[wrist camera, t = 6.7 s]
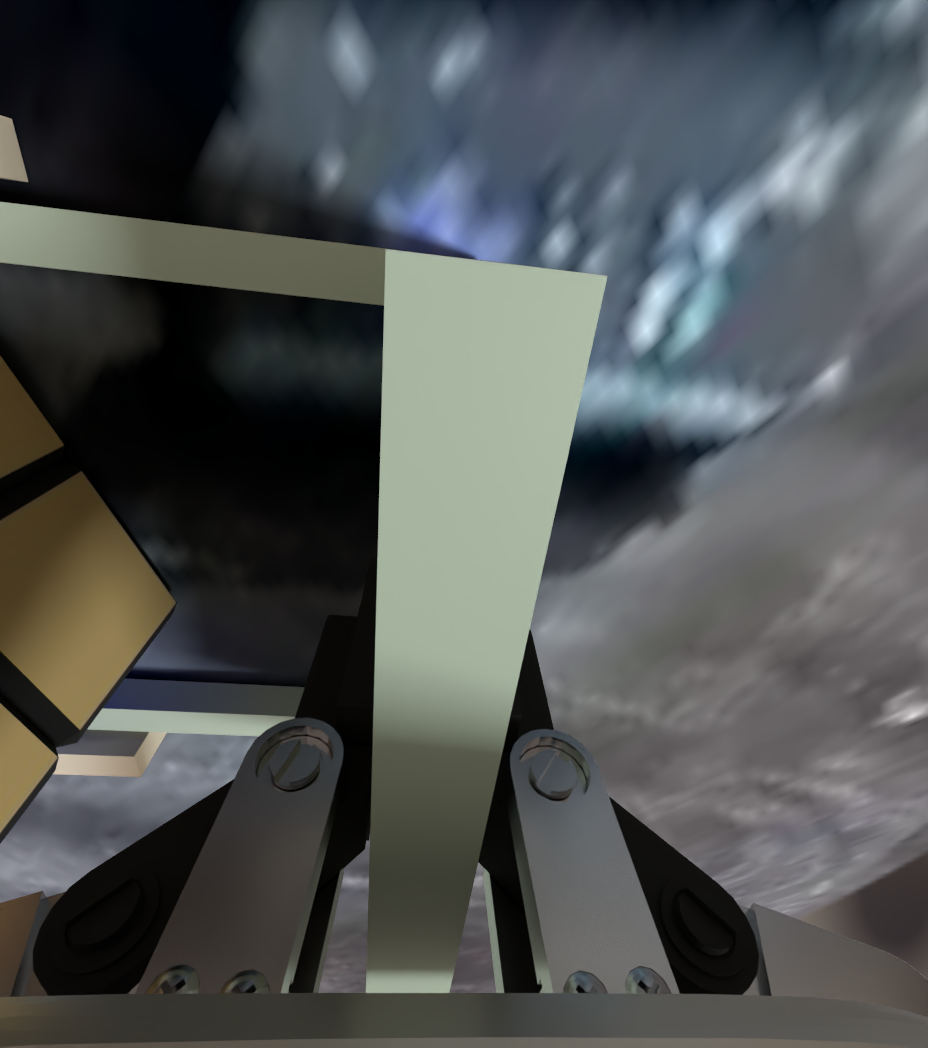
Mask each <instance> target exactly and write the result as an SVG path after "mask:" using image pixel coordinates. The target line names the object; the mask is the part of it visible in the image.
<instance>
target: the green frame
mask: <svg viewBox="0 0 928 1048" xmlns="http://www.w3.org/2000/svg"><path fill="white" fill-rule="evenodd" d="M0 262H1V263H10V264H19V265H28V266H37V267H45V268H54V269H63V270H72V271H81V272H90V273H99V274H108V275H117V276H126V277H134V278H143V279H152V280H161V281H170V282H179V283H188V284H197V285H206V286H215V287H223V288H232V289H241V290H250V291H259V292H268V293H277V294H286V295H295V296H304V297H312V298H321V299H330V300H339V301H348V302H357V303H366V304H375V305H384V332H383V370H382V408H381V446H380V483H379V521H378V559H377V597H376V635H375V673H374V711H373V749H372V787H371V825H370V863H369V901H368V938H367V976H366V993H449V991H450V987H451V982H452V978H453V973H454V969H455V964H456V960H457V955H458V951H459V946H460V942H461V937H462V933H463V928H464V923H465V919H466V914H467V910H468V905H469V901H470V896H471V892H472V887H473V883H474V878H475V874H476V869H477V865H478V860H479V856H480V851H481V846H482V842H483V837H484V833H485V828H486V824H487V819H488V815H489V810H490V806H491V801H492V797H493V792H494V788H495V783H496V779H497V774H498V769H499V765H500V760H501V756H502V751H503V747H504V742H505V738H506V733H507V729H508V724H509V720H510V715H511V711H512V706H513V702H514V697H515V692H516V688H517V683H518V679H519V674H520V670H521V665H522V661H523V656H524V652H525V647H526V643H527V638H528V634H529V629H530V625H531V620H532V616H533V611H534V606H535V602H536V597H537V593H538V588H539V584H540V579H541V575H542V570H543V566H544V561H545V557H546V552H547V548H548V543H549V539H550V534H551V529H552V525H553V520H554V516H555V511H556V507H557V502H558V498H559V493H560V489H561V484H562V480H563V475H564V471H565V466H566V462H567V457H568V452H569V448H570V443H571V439H572V434H573V430H574V425H575V421H576V416H577V412H578V407H579V403H580V398H581V394H582V389H583V385H584V380H585V376H586V371H587V366H588V362H589V357H590V353H591V348H592V344H593V339H594V335H595V330H596V326H597V321H598V317H599V312H600V308H601V303H602V299H603V294H604V289H605V285H606V280H607V276H603V275H595V274H587V273H579V272H571V271H563V270H555V269H547V268H539V267H531V266H523V265H515V264H507V263H499V262H491V261H483V260H474V259H466V258H458V257H450V256H442V255H433V254H425V253H417V252H409V251H401V250H392V249H384V248H376V247H368V246H360V245H351V244H343V243H335V242H327V241H318V240H310V239H302V238H294V237H286V236H277V235H269V234H261V233H253V232H245V231H236V230H228V229H220V228H212V227H204V226H195V225H187V224H179V223H171V222H163V221H154V220H146V219H138V218H130V217H121V216H113V215H105V214H97V213H89V212H80V211H72V210H64V209H56V208H48V207H39V206H31V205H23V204H15V203H7V202H0ZM304 688H305V687H289V686H268V685H248V684H227V683H206V682H185V681H164V680H144V679H124V680H123V681H122V683H121V684H120V686H119V687H118V688H117V690H116V691H115V692H114V694H113V695H112V696H111V698H110V699H109V700H108V702H107V703H106V704H105V706H104V707H103V708H102V710H101V711H100V712H99V714H98V715H97V716H96V718H95V719H94V721H93V722H92V723H91V725H90V726H89V727H88V729H89V730H114V731H139V732H164V733H190V734H215V735H240V736H260V735H261V734H262V733H264V732H265V731H266V730H267V729H269V728H271V727H273V726H274V725H276V724H278V723H280V722H283V721H287V720H290V719H294V718H295V716H296V713H297V710H298V706H299V703H300V700H301V697H302V694H303V691H304Z"/></svg>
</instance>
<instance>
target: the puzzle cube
mask: <svg viewBox="0 0 928 1048" xmlns="http://www.w3.org/2000/svg"><path fill="white" fill-rule="evenodd" d="M64 447H65V445H64V444H63V442H62V441H61V439H60V438H59V437H58V435H57V434H56V432H55V431H54V430H53V428H52V427H51V425H50V424H49V423H48V421H47V420H46V419H45V417H44V416H43V414H42V413H41V412H40V410H39V409H38V407H37V406H36V405H35V403H34V402H33V400H32V399H31V398H30V396H29V395H28V393H27V392H26V391H25V389H24V388H23V386H22V385H21V384H20V382H19V381H18V379H17V378H16V377H15V375H14V374H13V373H12V371H11V370H10V368H9V367H8V366H7V364H6V363H5V361H4V360H3V359H2V357H1V356H0V843H1V842H2V841H3V839H4V838H5V837H6V835H7V834H8V833H9V831H10V830H11V829H12V827H13V826H14V825H15V823H16V822H17V821H18V820H19V818H20V817H21V816H22V814H23V813H24V812H25V810H26V809H27V808H28V806H29V805H30V804H31V802H32V801H33V800H34V798H35V797H36V796H37V794H38V793H39V792H40V790H41V789H42V788H43V786H44V785H45V784H46V782H47V781H48V780H49V778H50V777H51V776H52V774H53V773H54V772H55V770H56V766H57V763H58V759H59V757H58V753H57V750H56V748H57V747H61V746H65V745H70V744H74V743H77V742H78V741H79V739H80V738H81V737H82V735H83V734H84V733H85V731H86V730H87V729H88V727H89V726H90V725H91V723H92V722H93V721H94V719H95V718H96V716H97V715H98V714H99V712H100V711H101V710H102V708H103V707H104V706H105V704H106V703H107V702H108V700H109V699H110V698H111V696H112V695H113V694H114V692H115V691H116V690H117V688H118V687H119V686H120V684H121V683H122V681H123V680H124V679H125V677H126V676H127V675H128V673H129V672H130V671H131V669H132V668H133V667H134V665H135V664H136V663H137V661H138V660H139V659H140V657H141V656H142V655H143V653H144V652H145V651H146V649H147V648H148V646H149V645H150V644H151V642H152V641H153V640H154V638H155V637H156V636H157V634H158V633H159V632H160V630H161V629H162V628H163V626H164V625H165V624H166V622H167V621H168V620H169V618H170V617H171V615H172V614H173V612H174V609H175V607H176V604H177V602H176V601H175V599H174V598H173V597H172V595H171V594H170V593H169V591H168V590H167V588H166V587H165V586H164V584H163V583H162V581H161V580H160V579H159V577H158V576H157V574H156V573H155V572H154V570H153V569H152V567H151V566H150V565H149V563H148V562H147V561H146V559H145V558H144V556H143V555H142V554H141V552H140V551H139V549H138V548H137V547H136V545H135V544H134V542H133V541H132V540H131V538H130V537H129V535H128V534H127V533H126V531H125V530H124V528H123V527H122V526H121V524H120V523H119V522H118V520H117V519H116V517H115V516H114V515H113V513H112V512H111V510H110V509H109V508H108V506H107V505H106V503H105V502H104V501H103V499H102V498H101V496H100V495H99V494H98V492H97V491H96V490H95V488H94V487H93V485H92V484H91V483H90V481H89V480H88V478H87V477H86V476H85V474H84V473H83V471H82V470H80V469H78V468H76V467H73V466H71V465H68V464H66V463H63V462H60V461H62V457H63V452H64ZM58 462H60V463H58ZM56 463H57V464H56Z"/></svg>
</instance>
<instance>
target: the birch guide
mask: <svg viewBox="0 0 928 1048" xmlns="http://www.w3.org/2000/svg"><path fill="white" fill-rule="evenodd" d="M0 179H6V180H14V181H22V182H28V178H27V175H26V171H25V167H24V163H23V159H22V156H21V152H20V148H19V144H18V140H17V137H16V133H15V129H14V125H13V121H12V119H11V118H7V117H4V116H1V115H0ZM165 735H166V733H164V732H139V731H114V730H89V729H87V730H86V731H85V733H84V734H83V735H82V737H81V738H80V739H79V741H78V742H77V743H74V744H70V745H65V746H61V747H57V748H56V750H57V753H58V757H59V759H58V763H57V766H56V770H55V772H54V773H53V774H65V775H96V776H127V777H141V776H142V774H143V772H144V771H145V769H146V767H147V765H148V764H149V762H150V760H151V759H152V757H153V755H154V753H155V752H156V750H157V748H158V747H159V745H160V743H161V741H162V740H163V738H164V736H165Z"/></svg>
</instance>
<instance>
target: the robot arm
mask: <svg viewBox="0 0 928 1048" xmlns="http://www.w3.org/2000/svg"><path fill="white" fill-rule="evenodd" d="M377 559H378V558H375V557H372V559H371V563H370V567H369V571H368V575H367V580H366V584H365V588H364V592H363V596H362V600H361V605H360V609H359V613H358V617H353V616H338V615H329V616H328V618H327V620H326V623H325V626H324V629H323V632H322V635H321V638H320V641H319V645H318V648H317V651H316V654H315V657H314V660H313V663H312V666H311V669H310V672H309V676H308V679H307V682H306V685H305V688H304V691H303V694H302V697H301V700H300V703H299V706H298V710H297V713H296V716H295V718H294V719H290V720H287V721H283V722H280V723H278V724H276V725H274V726H273V727H271V728H269V729H267V730H266V731H265V732H264V733H262V734H261V735H260V736H259V737H258V738H257V739H256V740H255V741H254V743H253V744H252V746H251V747H250V749H249V750H248V752H247V754H246V756H245V758H244V760H243V762H242V764H241V766H240V769H239V771H238V773H237V775H236V777H235V779H234V780H232V781H231V782H229V783H227V784H226V785H224V786H223V787H221V788H220V789H218V790H216V791H215V792H213V793H212V794H210V795H209V796H207V797H206V798H204V799H202V800H201V801H199V802H198V803H196V804H195V805H193V806H191V807H190V808H188V809H187V810H185V811H184V812H182V813H181V814H179V815H177V816H176V817H174V818H173V819H171V820H170V821H168V822H166V823H165V824H163V825H162V826H160V827H159V828H157V829H156V830H154V831H152V832H151V833H149V834H148V835H146V836H145V837H143V838H141V839H140V840H138V841H137V842H135V843H134V844H132V845H131V846H129V847H127V848H126V849H124V850H123V851H121V852H120V853H118V854H116V855H115V856H113V857H112V858H110V859H109V860H107V861H106V862H104V863H102V864H101V865H99V866H98V867H96V868H95V869H93V870H91V871H90V872H89V873H87V874H86V875H85V876H84V877H82V878H81V879H80V880H78V881H77V882H76V883H75V884H73V885H72V886H71V887H70V888H69V889H68V890H67V891H66V892H64V893H60V894H57V895H53V896H50V897H47V898H46V896H45V894H44V893H43V891H41V892H37V893H34V894H30V895H27V896H23V897H20V898H16V899H13V900H9V901H6V902H2V903H0V1048H928V980H927V979H926V978H925V977H924V976H922V975H921V974H920V973H919V972H918V971H916V970H915V969H914V968H913V967H911V966H910V965H909V964H908V963H906V962H904V961H902V960H901V959H899V958H897V957H895V956H893V955H891V954H889V953H887V952H885V951H882V950H879V949H876V948H874V947H871V946H868V945H866V944H863V943H860V942H858V941H855V940H852V939H849V938H847V937H844V936H841V935H839V934H836V933H833V932H830V931H828V930H825V929H822V928H819V927H817V926H814V925H811V924H809V923H806V922H804V921H801V920H798V919H796V918H793V917H790V916H787V915H785V914H782V913H779V912H777V911H774V910H771V909H768V908H766V907H763V906H760V905H758V904H755V903H753V904H752V906H751V907H750V908H746V907H743V906H741V905H738V904H737V903H736V901H735V900H734V898H733V897H732V896H730V895H729V894H728V893H727V892H726V891H725V890H724V889H723V888H722V887H721V886H720V885H719V884H718V883H717V882H716V881H714V880H713V879H712V878H711V877H709V876H708V875H707V874H705V873H704V872H703V871H702V870H700V869H699V868H698V867H697V866H695V865H694V864H693V863H692V862H690V861H689V860H688V859H687V858H685V857H684V856H683V855H682V854H680V853H679V852H678V851H677V850H675V849H674V848H673V847H672V846H670V845H669V844H668V843H667V842H665V841H664V840H663V839H662V838H660V837H659V836H658V835H657V834H655V833H654V832H653V831H652V830H650V829H649V828H648V827H647V826H645V825H644V824H643V823H642V822H640V821H639V820H638V819H637V818H635V817H634V816H633V815H632V814H630V813H629V812H628V811H626V810H625V809H624V808H623V807H621V806H620V805H619V804H618V803H616V802H615V801H614V800H613V799H611V798H610V797H609V796H608V793H607V790H606V787H605V785H604V782H603V779H602V776H601V774H600V771H599V768H598V766H597V764H596V762H595V760H594V758H593V756H592V754H591V753H590V752H589V751H588V750H587V749H586V748H585V747H584V746H583V744H582V743H580V742H579V741H577V740H576V739H574V738H573V737H571V736H570V735H567V734H565V733H562V732H560V731H557V730H554V728H553V724H552V720H551V715H550V711H549V707H548V702H547V698H546V694H545V689H544V685H543V680H542V676H541V672H540V667H539V663H538V659H537V654H536V650H535V645H534V641H533V637H532V633H531V630H530V629H529V634H528V638H527V643H526V647H525V652H524V656H523V661H522V665H521V670H520V674H519V679H518V683H517V688H516V692H515V697H514V702H513V706H512V711H511V715H510V720H509V724H508V729H507V733H506V738H505V742H504V747H503V751H502V756H501V760H500V765H499V769H498V774H497V779H496V783H495V788H494V792H493V797H492V801H491V806H490V810H489V815H488V819H487V824H486V828H485V833H484V837H483V842H482V846H481V851H480V856H479V860H478V862H479V863H480V864H481V865H482V866H483V867H484V870H483V879H484V888H485V896H486V905H487V914H488V923H489V931H490V940H491V949H492V958H493V967H494V975H495V984H496V993H318V990H319V986H320V981H321V977H322V972H323V967H324V963H325V958H326V954H327V949H328V944H329V940H330V935H331V930H332V926H333V921H334V917H335V912H336V907H337V903H338V898H339V893H340V889H341V884H342V880H343V875H344V867H345V866H346V865H348V864H349V863H350V862H351V861H352V860H353V859H354V858H355V857H356V856H358V855H359V854H360V853H361V852H362V851H363V850H364V849H365V844H366V840H368V841H369V835H370V825H371V787H372V749H373V711H374V673H375V635H376V597H377Z"/></svg>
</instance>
